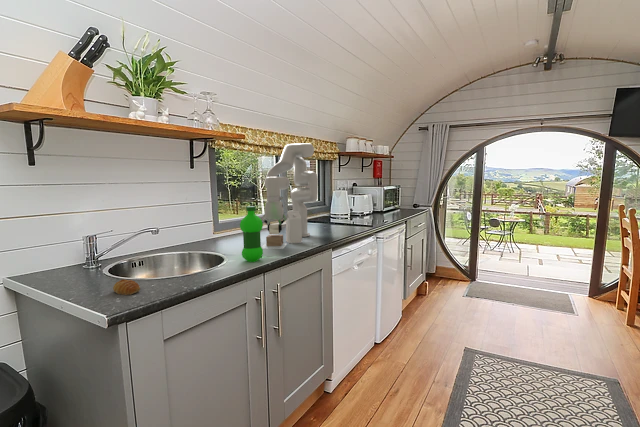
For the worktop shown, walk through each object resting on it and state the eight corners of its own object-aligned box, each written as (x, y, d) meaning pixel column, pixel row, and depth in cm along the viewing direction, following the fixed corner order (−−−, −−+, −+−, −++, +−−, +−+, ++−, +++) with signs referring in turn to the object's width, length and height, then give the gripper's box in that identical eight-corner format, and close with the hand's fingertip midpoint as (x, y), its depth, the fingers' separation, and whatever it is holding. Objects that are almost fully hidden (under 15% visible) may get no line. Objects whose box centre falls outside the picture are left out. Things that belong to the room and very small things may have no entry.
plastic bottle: (236, 261, 155) (234, 207, 152) (251, 257, 164) (249, 205, 161) (254, 264, 150) (252, 207, 148) (268, 259, 159) (266, 206, 157)
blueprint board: (265, 245, 195) (265, 243, 195) (287, 244, 194) (287, 243, 194) (258, 250, 179) (258, 248, 179) (283, 250, 178) (283, 248, 178)
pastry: (146, 291, 115) (145, 280, 115) (126, 297, 109) (125, 286, 109) (130, 287, 120) (129, 276, 119) (110, 293, 114) (109, 282, 114)
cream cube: (271, 232, 192) (271, 223, 191) (280, 232, 192) (279, 223, 191) (269, 234, 187) (269, 225, 186) (278, 234, 187) (278, 225, 186)
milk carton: (286, 243, 200) (285, 211, 198) (297, 242, 202) (296, 210, 201) (290, 245, 193) (289, 211, 191) (302, 244, 196) (301, 211, 194)
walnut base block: (269, 243, 194) (269, 234, 194) (283, 243, 194) (283, 234, 193) (266, 246, 186) (266, 237, 186) (280, 246, 186) (280, 237, 185)
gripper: (290, 198, 191) (290, 230, 192) (260, 199, 192) (261, 231, 193) (288, 199, 183) (288, 232, 185) (256, 199, 184) (258, 233, 186)
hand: (274, 231), depth 189 cm, fingers closed on cream cube, 4 cm apart
